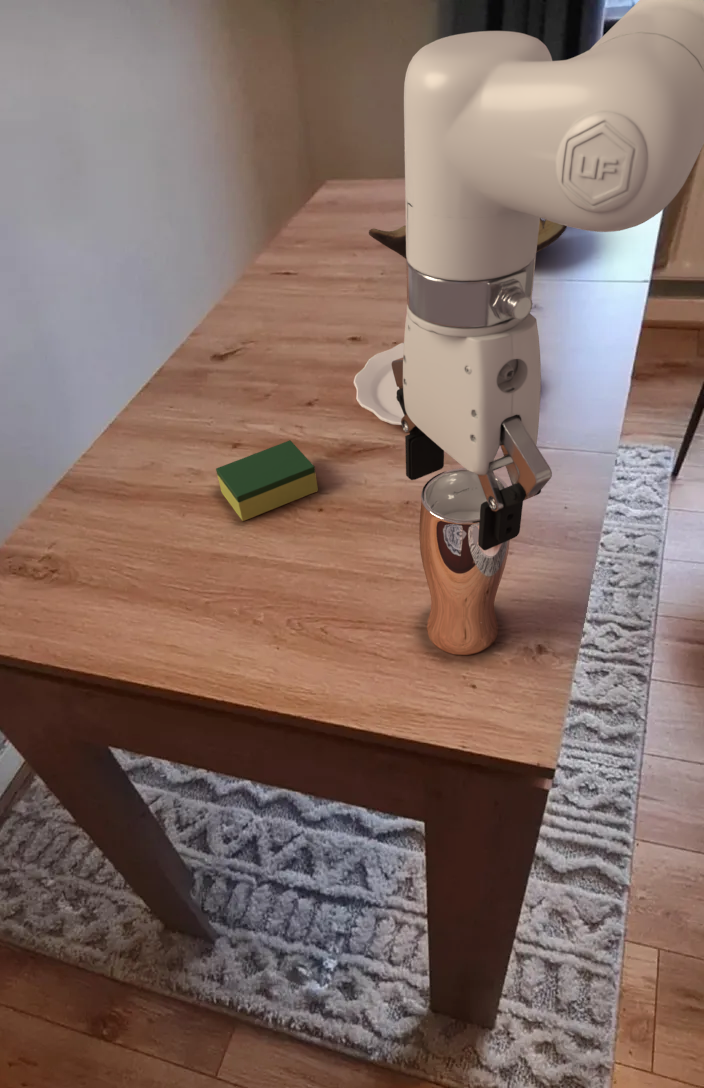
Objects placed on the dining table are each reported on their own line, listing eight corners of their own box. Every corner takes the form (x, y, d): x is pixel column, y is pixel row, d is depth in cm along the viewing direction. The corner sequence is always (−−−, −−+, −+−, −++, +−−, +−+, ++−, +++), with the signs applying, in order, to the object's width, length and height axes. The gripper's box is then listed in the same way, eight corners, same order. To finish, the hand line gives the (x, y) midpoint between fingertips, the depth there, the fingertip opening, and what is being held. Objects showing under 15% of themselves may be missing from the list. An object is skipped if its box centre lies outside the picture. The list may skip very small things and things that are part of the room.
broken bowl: (580, 281, 114) (586, 225, 108) (370, 295, 118) (366, 242, 112) (560, 220, 129) (565, 169, 124) (375, 235, 133) (373, 186, 128)
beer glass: (414, 652, 69) (409, 518, 58) (430, 596, 73) (428, 462, 62) (496, 665, 67) (506, 529, 56) (507, 606, 71) (518, 470, 61)
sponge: (294, 464, 90) (290, 439, 88) (318, 491, 86) (314, 466, 84) (221, 492, 88) (215, 468, 85) (242, 521, 84) (236, 497, 81)
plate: (496, 454, 87) (497, 441, 86) (326, 422, 95) (325, 410, 94) (549, 360, 99) (550, 348, 98) (395, 339, 108) (394, 327, 106)
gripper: (618, 320, 43) (575, 552, 56) (442, 225, 55) (438, 435, 67) (504, 363, 41) (486, 593, 54) (346, 255, 53) (360, 465, 65)
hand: (459, 505), depth 60 cm, fingers open, 9 cm apart
